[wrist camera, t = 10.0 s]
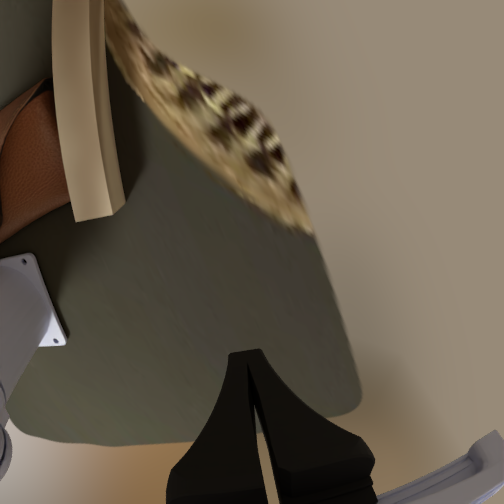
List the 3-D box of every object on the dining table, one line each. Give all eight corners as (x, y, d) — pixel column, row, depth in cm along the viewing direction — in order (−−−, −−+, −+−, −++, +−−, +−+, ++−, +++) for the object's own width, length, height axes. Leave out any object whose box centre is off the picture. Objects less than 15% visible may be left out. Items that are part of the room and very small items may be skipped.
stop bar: (92, 209, 19) (75, 222, 16) (73, -30, 12) (57, -47, 9) (125, 202, 19) (113, 214, 16) (104, -41, 12) (92, -60, 9)
